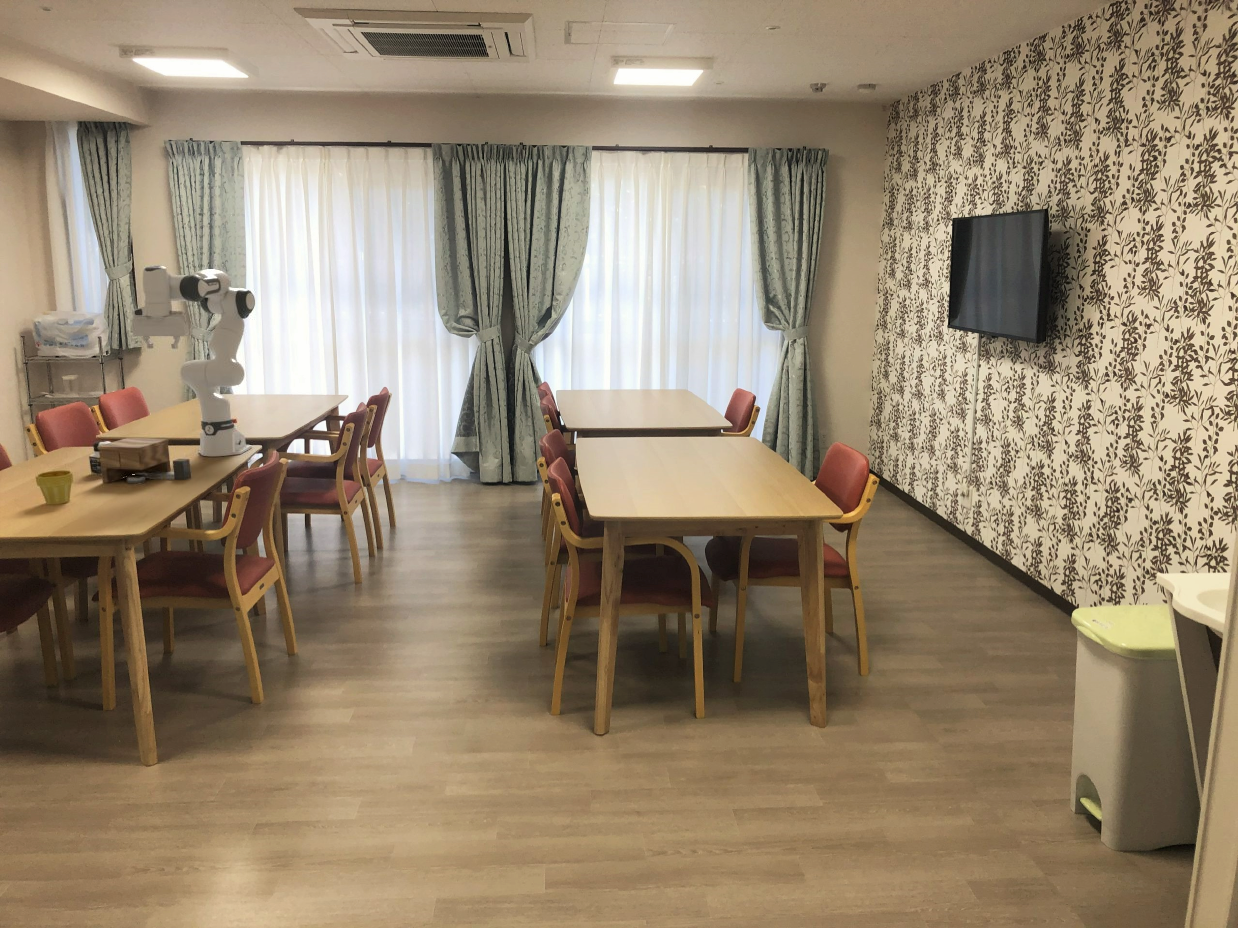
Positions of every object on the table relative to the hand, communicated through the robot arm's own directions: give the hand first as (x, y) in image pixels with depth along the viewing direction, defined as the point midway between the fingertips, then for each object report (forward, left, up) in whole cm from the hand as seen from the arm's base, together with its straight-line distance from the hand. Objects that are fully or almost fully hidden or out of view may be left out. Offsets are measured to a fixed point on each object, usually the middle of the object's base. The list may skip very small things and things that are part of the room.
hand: (162, 348), depth 339 cm
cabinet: (+15, -5, -46) cm, 49 cm away
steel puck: (+20, -2, -47) cm, 51 cm away
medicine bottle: (+8, -23, -47) cm, 53 cm away
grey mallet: (+12, +4, -46) cm, 48 cm away
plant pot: (+50, -9, -47) cm, 69 cm away
